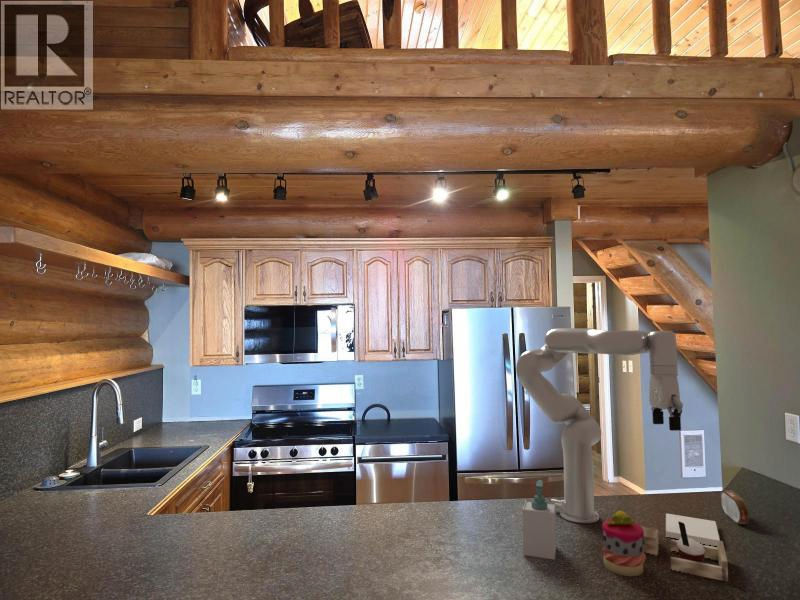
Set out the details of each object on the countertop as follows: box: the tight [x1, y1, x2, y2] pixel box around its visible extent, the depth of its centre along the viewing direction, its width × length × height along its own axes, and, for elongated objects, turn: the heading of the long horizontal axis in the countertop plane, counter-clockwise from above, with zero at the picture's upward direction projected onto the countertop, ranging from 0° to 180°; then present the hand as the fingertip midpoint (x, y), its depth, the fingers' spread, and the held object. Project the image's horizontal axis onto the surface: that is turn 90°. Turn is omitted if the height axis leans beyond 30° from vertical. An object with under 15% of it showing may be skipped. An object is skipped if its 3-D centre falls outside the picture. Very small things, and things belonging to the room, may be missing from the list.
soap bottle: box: [522, 479, 557, 560], centre depth 146 cm, size 9×9×19 cm
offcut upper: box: [640, 525, 659, 547], centre depth 147 cm, size 5×7×2 cm, turn 149°
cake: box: [601, 510, 647, 577], centre depth 136 cm, size 10×11×15 cm
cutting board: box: [665, 513, 721, 548], centre depth 158 cm, size 14×16×2 cm
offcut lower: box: [643, 540, 660, 556], centre depth 147 cm, size 5×8×2 cm, turn 151°
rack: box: [670, 539, 729, 582], centre depth 137 cm, size 13×13×5 cm
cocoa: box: [677, 522, 705, 563], centre depth 138 cm, size 10×6×12 cm, turn 102°
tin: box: [720, 489, 750, 526], centre depth 169 cm, size 15×3×8 cm, turn 168°
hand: (666, 427), depth 155 cm, fingers open, 9 cm apart
